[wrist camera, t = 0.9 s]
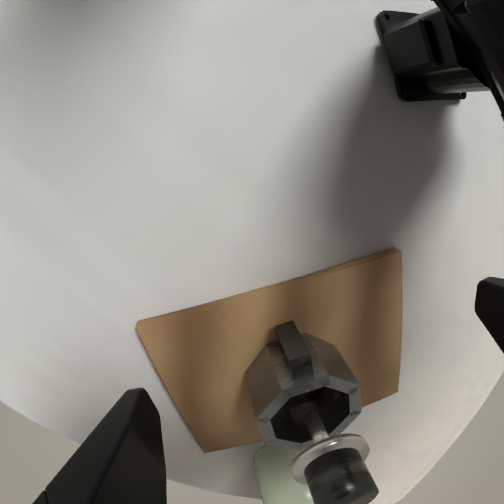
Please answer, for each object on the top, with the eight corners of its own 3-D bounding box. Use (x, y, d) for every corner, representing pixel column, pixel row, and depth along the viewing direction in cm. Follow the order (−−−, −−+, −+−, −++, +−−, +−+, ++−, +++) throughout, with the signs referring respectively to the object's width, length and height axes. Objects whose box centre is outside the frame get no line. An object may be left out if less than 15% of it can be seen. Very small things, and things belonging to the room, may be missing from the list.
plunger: (342, 380, 17) (393, 469, 11) (345, 423, 19) (385, 501, 13) (270, 404, 17) (301, 504, 11) (282, 444, 19) (310, 529, 12)
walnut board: (394, 247, 21) (400, 251, 20) (393, 386, 26) (397, 391, 25) (137, 321, 20) (135, 327, 19) (204, 446, 25) (204, 452, 24)
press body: (329, 302, 21) (359, 340, 16) (338, 388, 24) (361, 428, 19) (230, 331, 20) (240, 378, 16) (258, 413, 23) (270, 458, 19)
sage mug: (320, 425, 26) (350, 492, 19) (326, 467, 29) (349, 522, 22) (246, 446, 26) (261, 518, 18) (264, 485, 29) (279, 543, 21)
